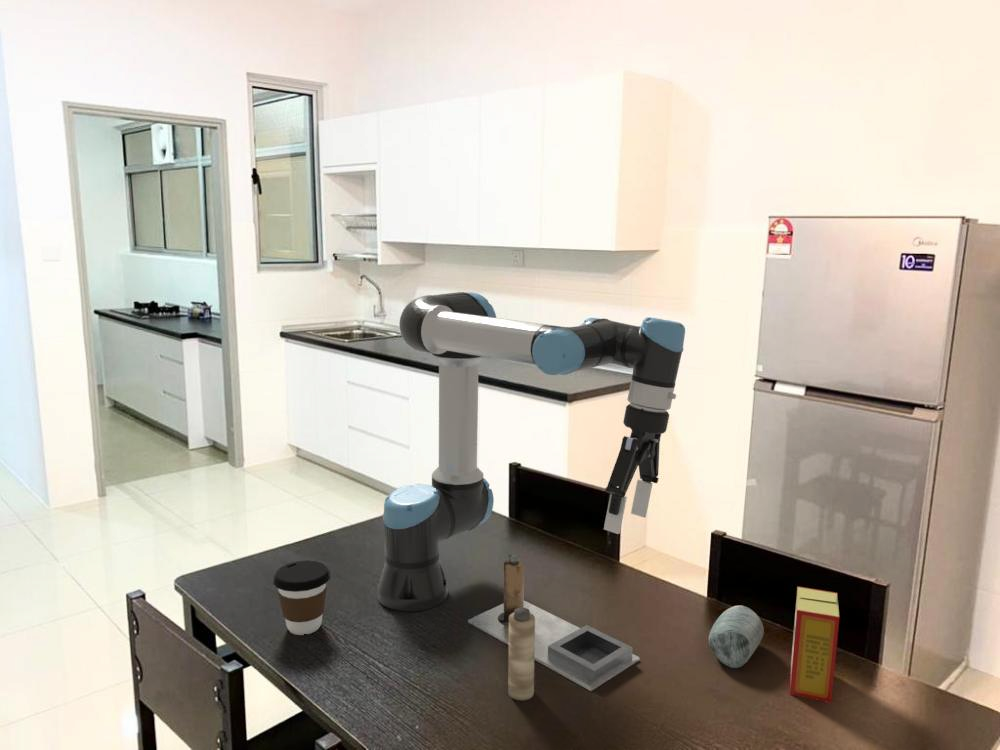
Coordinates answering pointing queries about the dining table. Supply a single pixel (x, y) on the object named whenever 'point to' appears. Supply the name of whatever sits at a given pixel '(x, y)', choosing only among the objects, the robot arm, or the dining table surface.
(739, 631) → the spool
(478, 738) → the dining table surface
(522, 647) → the birch leg peg
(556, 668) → the bolt plate
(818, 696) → the baking soda box
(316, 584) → the coffee cup
